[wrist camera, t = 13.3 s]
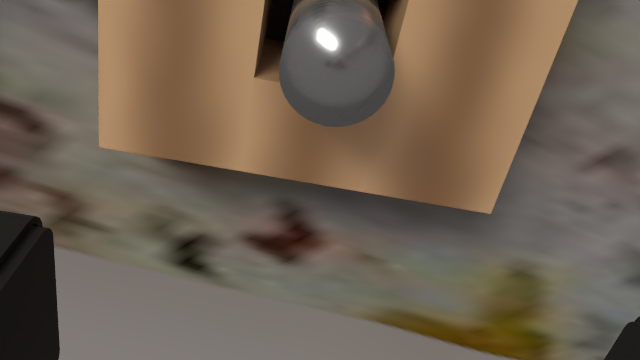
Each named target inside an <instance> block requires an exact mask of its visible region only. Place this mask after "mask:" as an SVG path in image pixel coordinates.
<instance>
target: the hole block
mask: <svg viewBox="0 0 640 360" xmlns="http://www.w3.org/2000/svg"><path fill="white" fill-rule="evenodd" d="M577 2H578V0H388V4H387V8H386V12H385V16H384V20H383V24H384V27H385V31H386V34H387V38H388V41H389V45H390V49H391V52H392V56H393V60H394V66H395V76H394V82H393V86H392V89H391V92H390V94H389V96H388V98H387V100H386V101H385V103H384V104H383V105H382V106H381V108H380V109H379V110H378V111H377V112H375V113H374V114H373V115H372V116H370V117H369V118H367V119H365V120H363V121H361V122H359V123H356V124H353V125H349V126H343V127H330V126H323V125H319V124H316V123H314V122H311V121H309V120H307V119H306V118H304V117H303V116H301V115H300V114H299V113H298V112H296V111H295V110H294V109H293V108H292V106H291V105H290V104H289V102H288V101H287V99H286V98H285V96H284V94H283V91H282V88H281V85H280V80H279V64H280V59H281V55H282V50H283V46H284V42H282V41H277V40H272V39H267V32H268V26H269V19H270V12H271V5H272V0H98V52H99V147H102V148H108V149H114V150H120V151H126V152H132V153H137V154H143V155H149V156H155V157H161V158H167V159H172V160H178V161H184V162H190V163H196V164H202V165H207V166H213V167H219V168H225V169H231V170H237V171H243V172H248V173H254V174H260V175H266V176H272V177H278V178H283V179H289V180H295V181H301V182H307V183H313V184H318V185H324V186H330V187H336V188H342V189H348V190H353V191H359V192H365V193H371V194H377V195H383V196H388V197H394V198H400V199H406V200H412V201H418V202H424V203H429V204H435V205H441V206H447V207H453V208H459V209H464V210H470V211H476V212H482V213H488V214H491V212H492V209H493V207H494V205H495V202H496V200H497V197H498V195H499V192H500V190H501V188H502V185H503V183H504V180H505V178H506V175H507V173H508V170H509V168H510V166H511V163H512V161H513V158H514V156H515V153H516V151H517V149H518V146H519V144H520V141H521V139H522V136H523V134H524V131H525V129H526V127H527V124H528V122H529V119H530V117H531V114H532V112H533V109H534V107H535V105H536V102H537V100H538V97H539V95H540V92H541V90H542V88H543V85H544V83H545V80H546V78H547V75H548V73H549V70H550V68H551V66H552V63H553V61H554V58H555V56H556V53H557V51H558V49H559V46H560V44H561V41H562V39H563V36H564V34H565V31H566V29H567V27H568V24H569V22H570V19H571V17H572V14H573V12H574V10H575V7H576V5H577Z"/></svg>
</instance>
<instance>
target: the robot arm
mask: <svg viewBox="0 0 640 360" xmlns="http://www.w3.org/2000/svg"><path fill="white" fill-rule="evenodd" d="M59 350H60V347H59V330H58V312H57V295H56V278H55V260H54V243H53V232H52V230H51V229H49V228H44V227H43V226H42V222H41V220H40V218H39V217H36V216H30V215H24V214H18V213H11V212H5V211H0V360H58V359H59ZM604 360H640V317H638V318H637V319H636V320H635V321H634V322H630V323H628V324H627V325H626V326H625V327H624V329H623V330H622V332H621V334H620V335H619V337H618V338H617V340H616V342H615V343H614V345H613V346H612V348H611V350H610V351H609V353H608V354H607V356H606V357H605V359H604Z"/></svg>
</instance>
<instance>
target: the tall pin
mask: <svg viewBox="0 0 640 360" xmlns="http://www.w3.org/2000/svg"><path fill="white" fill-rule="evenodd" d="M394 76H395V66H394V60H393V56H392V52H391V49H390V45H389V41H388V38H387V34H386V31H385V27H384V24H383V20H382V17H381V13H380V10H379V6H378V3H377V0H294V1H293V6H292V10H291V15H290V19H289V24H288V28H287V33H286V37H285V42H284V46H283V50H282V55H281V59H280V64H279V80H280V85H281V88H282V91H283V94H284V96H285V98H286V99H287V101H288V102H289V104H290V105H291V106H292V108H293V109H294V110H295V111H296V112H298V113H299V114H300V115H301V116H303V117H304V118H306V119H307V120H309V121H311V122H314V123H316V124H319V125H323V126H330V127H343V126H349V125H353V124H356V123H359V122H361V121H363V120H365V119H367V118H369V117H370V116H372V115H373V114H374V113H375V112H377V111H378V110H379V109H380V108H381V106H382V105H383V104H384V103H385V101H386V100H387V98H388V96H389V94H390V92H391V89H392V86H393V82H394Z"/></svg>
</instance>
